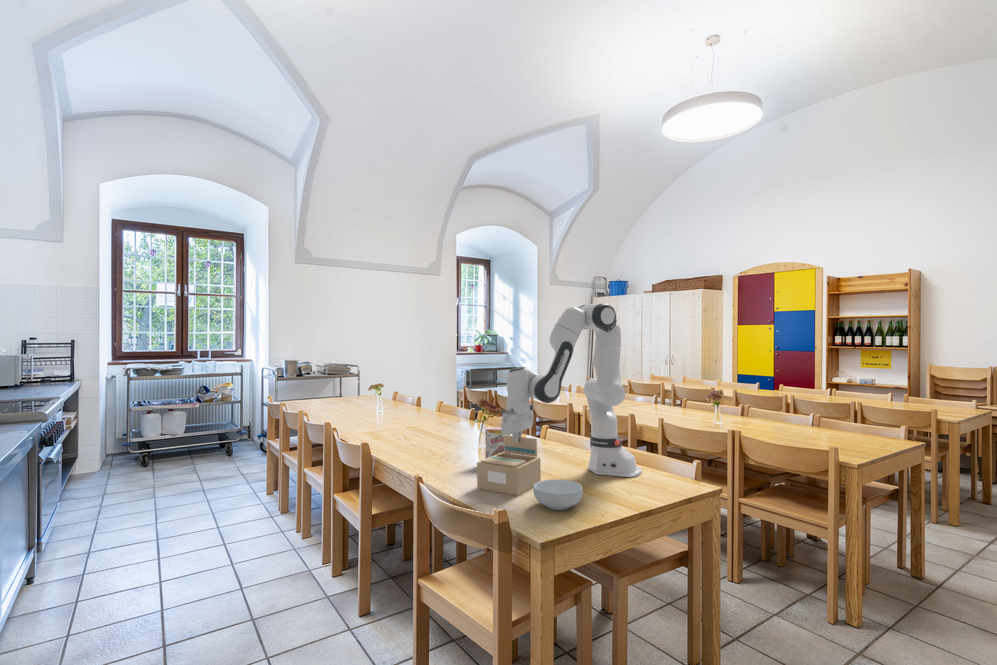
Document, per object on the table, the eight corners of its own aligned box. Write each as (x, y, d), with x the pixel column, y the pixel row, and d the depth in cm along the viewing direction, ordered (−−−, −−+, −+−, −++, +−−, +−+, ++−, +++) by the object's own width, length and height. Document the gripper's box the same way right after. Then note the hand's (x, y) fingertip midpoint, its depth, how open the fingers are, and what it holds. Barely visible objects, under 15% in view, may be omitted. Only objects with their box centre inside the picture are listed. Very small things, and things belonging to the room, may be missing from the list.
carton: (540, 483, 198) (540, 457, 198) (517, 496, 183) (517, 468, 183) (501, 476, 208) (501, 452, 208) (477, 488, 192) (476, 462, 192)
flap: (481, 461, 192) (481, 460, 192) (492, 457, 199) (492, 455, 199) (515, 467, 184) (515, 465, 184) (525, 462, 191) (525, 460, 191)
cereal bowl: (592, 505, 173) (592, 484, 173) (564, 519, 160) (564, 497, 160) (552, 494, 184) (551, 475, 184) (523, 507, 172) (523, 486, 171)
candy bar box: (485, 465, 224) (485, 429, 224) (486, 463, 229) (486, 427, 229) (510, 466, 223) (510, 429, 223) (511, 463, 228) (510, 427, 228)
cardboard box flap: (536, 457, 198) (537, 456, 199) (535, 439, 198) (536, 438, 198) (503, 452, 206) (504, 452, 207) (503, 435, 206) (503, 434, 206)
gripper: (511, 411, 190) (510, 448, 190) (536, 405, 208) (535, 438, 208) (497, 410, 194) (496, 446, 194) (522, 404, 211) (522, 437, 211)
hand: (517, 442), depth 201 cm, fingers closed
